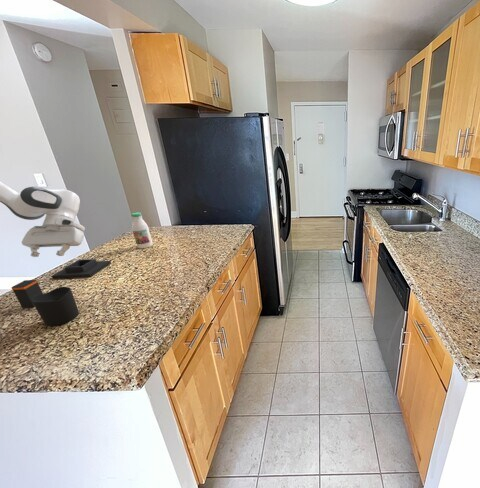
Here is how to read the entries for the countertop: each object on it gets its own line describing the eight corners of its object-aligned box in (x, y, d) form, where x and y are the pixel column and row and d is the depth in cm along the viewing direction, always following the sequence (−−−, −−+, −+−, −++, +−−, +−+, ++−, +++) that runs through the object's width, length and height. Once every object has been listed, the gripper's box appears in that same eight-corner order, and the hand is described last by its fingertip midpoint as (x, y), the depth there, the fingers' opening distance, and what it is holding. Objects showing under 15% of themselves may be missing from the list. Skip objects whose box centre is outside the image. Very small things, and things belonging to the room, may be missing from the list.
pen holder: (73, 323, 88) (61, 298, 84) (37, 330, 85) (24, 304, 81) (85, 308, 96) (75, 284, 92) (53, 313, 93) (42, 289, 89)
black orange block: (22, 308, 96) (10, 287, 93) (34, 300, 101) (24, 280, 98) (34, 307, 97) (23, 286, 93) (46, 299, 101) (36, 279, 98)
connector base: (52, 278, 117) (49, 270, 115) (77, 264, 130) (74, 257, 128) (90, 276, 118) (87, 269, 117) (111, 263, 131) (108, 256, 130)
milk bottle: (141, 244, 155) (132, 211, 148) (155, 243, 156) (146, 211, 148) (134, 249, 148) (124, 215, 141) (148, 248, 149) (139, 214, 141)
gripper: (24, 222, 106) (10, 254, 101) (77, 221, 108) (67, 252, 102) (38, 229, 112) (26, 259, 106) (89, 227, 114) (80, 257, 108)
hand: (47, 255), depth 104 cm, fingers open, 8 cm apart
